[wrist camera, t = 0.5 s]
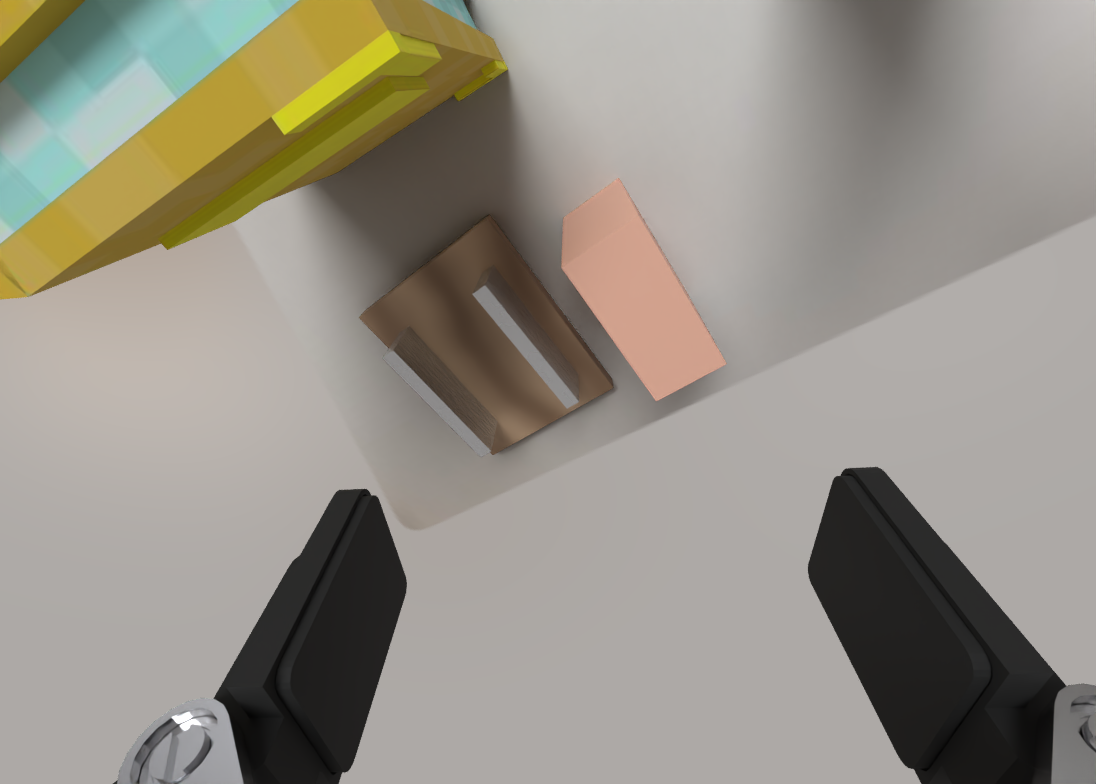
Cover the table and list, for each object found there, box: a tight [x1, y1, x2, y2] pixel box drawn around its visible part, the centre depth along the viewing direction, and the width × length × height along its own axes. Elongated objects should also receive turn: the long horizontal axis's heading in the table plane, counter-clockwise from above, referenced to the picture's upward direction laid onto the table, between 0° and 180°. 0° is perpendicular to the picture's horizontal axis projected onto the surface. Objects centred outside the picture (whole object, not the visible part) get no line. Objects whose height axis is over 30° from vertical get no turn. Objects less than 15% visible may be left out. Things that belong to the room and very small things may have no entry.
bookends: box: [383, 265, 579, 457], centre depth 41 cm, size 10×12×4 cm
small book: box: [561, 178, 727, 401], centre depth 35 cm, size 5×11×12 cm, turn 36°
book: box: [0, 0, 508, 299], centre depth 23 cm, size 17×7×25 cm, turn 118°
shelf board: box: [359, 215, 613, 455], centre depth 44 cm, size 14×18×2 cm
